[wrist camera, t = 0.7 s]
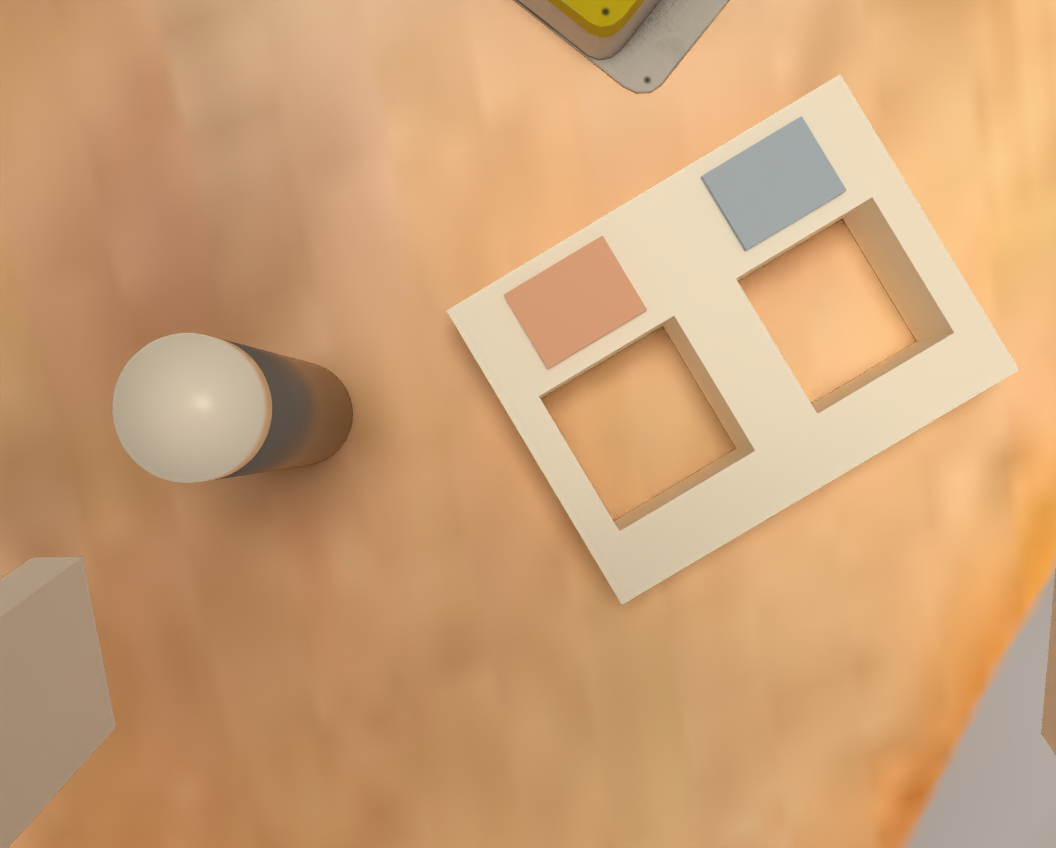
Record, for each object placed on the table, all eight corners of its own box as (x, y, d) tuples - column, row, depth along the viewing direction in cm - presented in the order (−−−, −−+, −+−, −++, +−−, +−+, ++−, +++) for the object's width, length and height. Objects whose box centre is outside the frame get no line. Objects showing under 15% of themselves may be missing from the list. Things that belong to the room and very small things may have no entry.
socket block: (455, 321, 38) (445, 309, 34) (813, 106, 38) (842, 70, 34) (615, 588, 38) (622, 606, 34) (975, 375, 37) (1023, 369, 34)
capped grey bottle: (231, 396, 38) (84, 381, 26) (318, 343, 38) (212, 304, 26) (283, 484, 38) (160, 511, 26) (371, 431, 38) (289, 434, 26)
